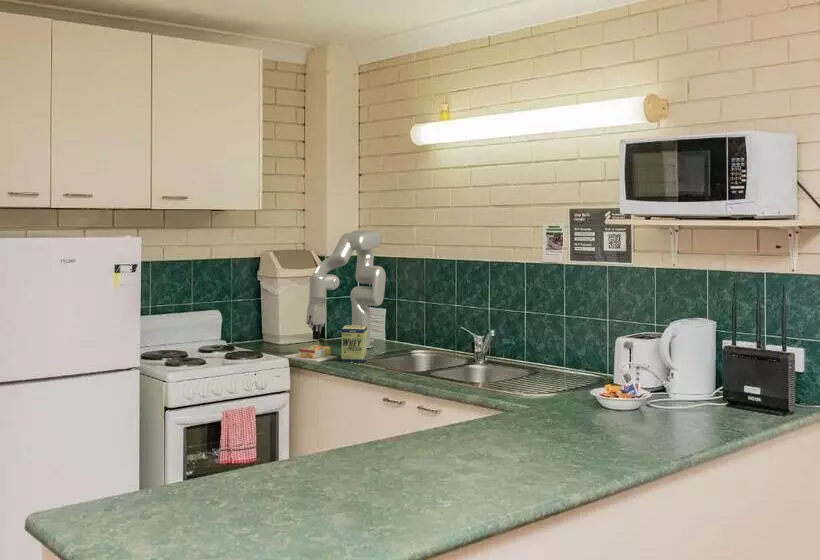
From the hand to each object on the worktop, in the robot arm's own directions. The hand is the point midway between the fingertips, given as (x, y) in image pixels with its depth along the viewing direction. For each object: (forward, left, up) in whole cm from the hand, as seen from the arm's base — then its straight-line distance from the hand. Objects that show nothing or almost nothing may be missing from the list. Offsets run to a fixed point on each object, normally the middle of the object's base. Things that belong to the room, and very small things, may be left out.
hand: (316, 339), depth 431 cm
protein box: (-4, +19, -9) cm, 21 cm away
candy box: (-5, 0, -6) cm, 8 cm away
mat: (+4, 0, -8) cm, 9 cm away
